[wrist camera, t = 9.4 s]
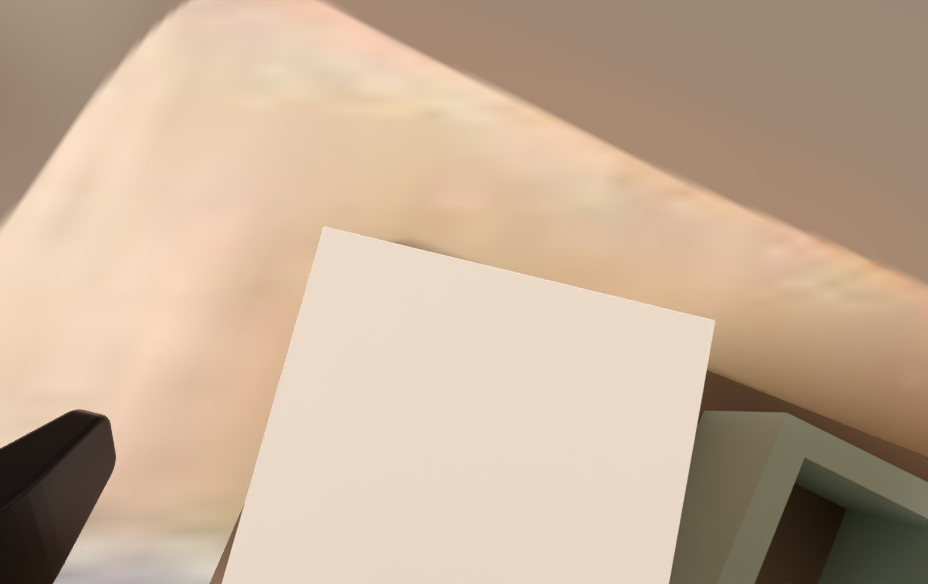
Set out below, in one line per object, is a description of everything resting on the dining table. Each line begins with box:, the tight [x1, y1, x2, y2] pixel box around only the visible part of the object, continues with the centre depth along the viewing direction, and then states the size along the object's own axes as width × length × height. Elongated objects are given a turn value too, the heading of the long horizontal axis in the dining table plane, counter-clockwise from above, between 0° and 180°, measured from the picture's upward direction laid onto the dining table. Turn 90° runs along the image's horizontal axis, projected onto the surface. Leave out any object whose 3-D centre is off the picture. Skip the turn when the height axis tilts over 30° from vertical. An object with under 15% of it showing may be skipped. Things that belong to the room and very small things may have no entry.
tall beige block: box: [222, 226, 715, 584], centre depth 10 cm, size 5×3×12 cm, turn 166°
